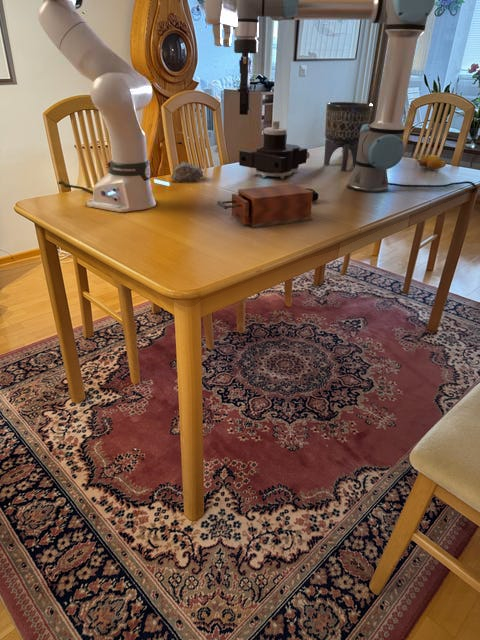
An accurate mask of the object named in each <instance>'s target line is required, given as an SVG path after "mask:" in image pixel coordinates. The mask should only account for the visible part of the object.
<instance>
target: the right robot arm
mask: <svg viewBox="0 0 480 640" xmlns="http://www.w3.org/2000/svg"><path fill="white" fill-rule="evenodd" d="M435 3H436V0H237V27H236V28H232V31H233V30H234V35H233V37H234V38H236V39H234V41H233V46H234V47H233V52H234V53H235V54H241V56H240V59H239V61H238V62H239V63H238V65H239V74H240V76H239V77H240V80H239V82H240V84H239V88H237V93H239V115H241V116H244V115H245V116H248V115H249V111H250V95H251V94H250V90H252V85H251V84H250V83H251V82H250V77H251V73H252V65H253V60H251V57H250V54H258V51H259V49H258V48H259V41H258V40H257V39H258V38H259V26H260V25H259V24H260V23H259V21H260V20H259V18H260V17H262V18H263V17H265V18H270V19H271V20H272V21H274V22H281V21H305V20H306V21H313V20H314V21H315V20H316V21H318V20H320V21H322V20H323V21H324V20H325V21H327V20H328V21H329V20H331V21H335V20H337V21H339V20H340V21H341V20H345V21H346V20H347V21H348V20H350V21H351V20H352V21H353V20H354V21H356V20H357V21H360V20H362V21H367V20H368V21H369V22H370V23H371V24H382V25H385V33H386V35H387V36H388V43H387V47H386V53H385V54H386V55H385V60H384V67H383V71H382V72H383V73H382V78H381V83H380V89H379V90H380V91H379V96H378V102H377V108H376V114H375V120H374V121H372V122H371V123H369V124H364V125H363V126H362V127H361V130H360V133H359V135H360V137H359V144H358V151H357V158H356V165H355V166H354V167H353V171H351V174H350V176H349V179H348V182H347V187H348V188H349V189H351V190H354V191H358V192H363V193H364V192H365V193H382V192H386V191H388V189H389V186H393V187H402V188H446V187H451V186H455V185H464V184H470V185H471V186H473V187H476V186H477V185H476V184H475V183H474V182H473V181H468V180H467V181H466V180H465V181H457V182H449V183H446V184H401V183H396V182H395V183H394V182H389V178H388V173H387V172H388V171H387V170H389V169H391V168H393V167H396V166H397V165H398V164H399V163H400V162H401V160H402V159H403V157H404V154H405V143H404V141H403V140H404V136H405V135H404V134H405V130H406V126H405V125H404V123H403V118H404V117H403V116H404V112H405V106H406V101H407V95H408V90H409V86H410V82H411V81H410V80H411V75H412V72H413V71H412V70H413V66H414V65H413V64H414V60H415V55H416V49H417V46H418V40H419V38H420V37H421V36H422V35H423V34H424V33H425V30H426V25H427V21H428V20H427V19H428V17H429V15H431V12H432V11H433V9H434V7H435Z"/></svg>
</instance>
